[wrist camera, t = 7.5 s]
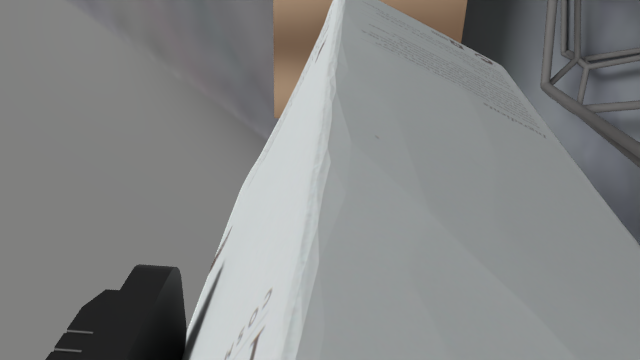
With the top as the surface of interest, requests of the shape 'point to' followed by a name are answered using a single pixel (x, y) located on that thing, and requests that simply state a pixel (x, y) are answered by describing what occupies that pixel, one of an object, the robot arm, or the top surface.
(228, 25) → the top surface
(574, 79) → the top surface
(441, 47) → the skincare box
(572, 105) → the geometric lantern
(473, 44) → the top surface
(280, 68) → the light brown block
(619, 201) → the top surface
